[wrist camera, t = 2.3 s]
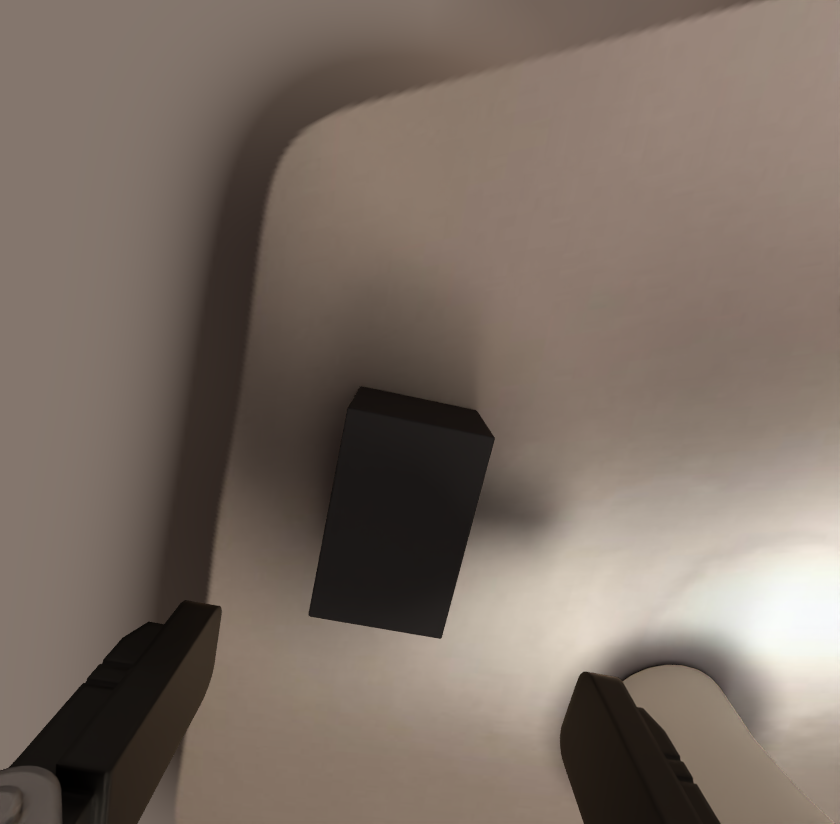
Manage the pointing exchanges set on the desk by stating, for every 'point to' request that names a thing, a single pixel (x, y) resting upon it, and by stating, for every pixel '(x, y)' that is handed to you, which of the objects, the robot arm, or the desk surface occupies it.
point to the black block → (400, 512)
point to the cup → (720, 749)
